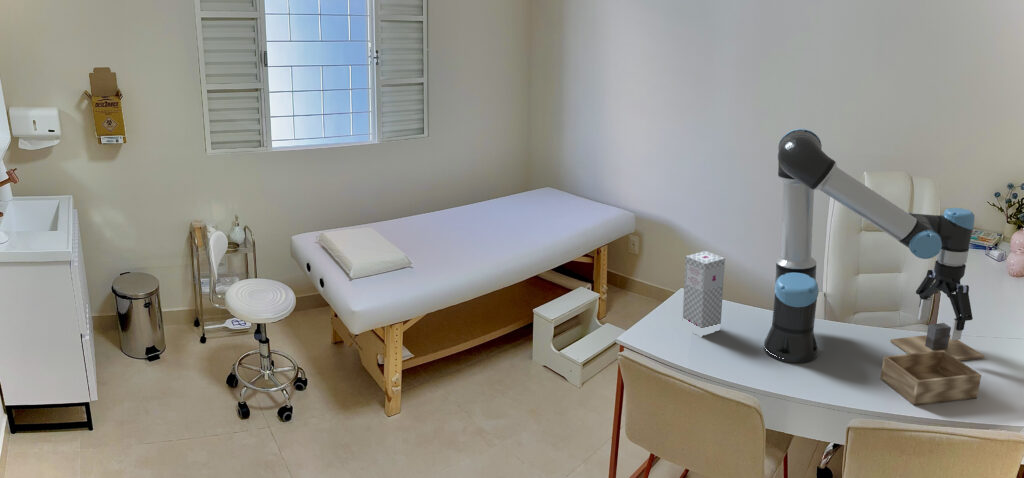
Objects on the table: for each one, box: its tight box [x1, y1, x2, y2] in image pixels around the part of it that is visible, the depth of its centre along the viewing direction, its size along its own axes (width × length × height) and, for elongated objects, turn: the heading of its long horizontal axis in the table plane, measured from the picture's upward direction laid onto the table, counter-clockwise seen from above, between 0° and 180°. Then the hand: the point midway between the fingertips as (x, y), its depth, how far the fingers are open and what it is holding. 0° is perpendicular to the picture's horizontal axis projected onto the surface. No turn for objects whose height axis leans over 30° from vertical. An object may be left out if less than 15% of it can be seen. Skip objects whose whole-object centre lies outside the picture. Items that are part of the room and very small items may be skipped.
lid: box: [890, 322, 985, 362], centre depth 212 cm, size 19×15×8 cm
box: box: [682, 250, 726, 328], centre depth 228 cm, size 8×8×25 cm
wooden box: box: [880, 350, 982, 406], centre depth 192 cm, size 18×14×7 cm
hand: (938, 328), depth 211 cm, fingers open, 13 cm apart
